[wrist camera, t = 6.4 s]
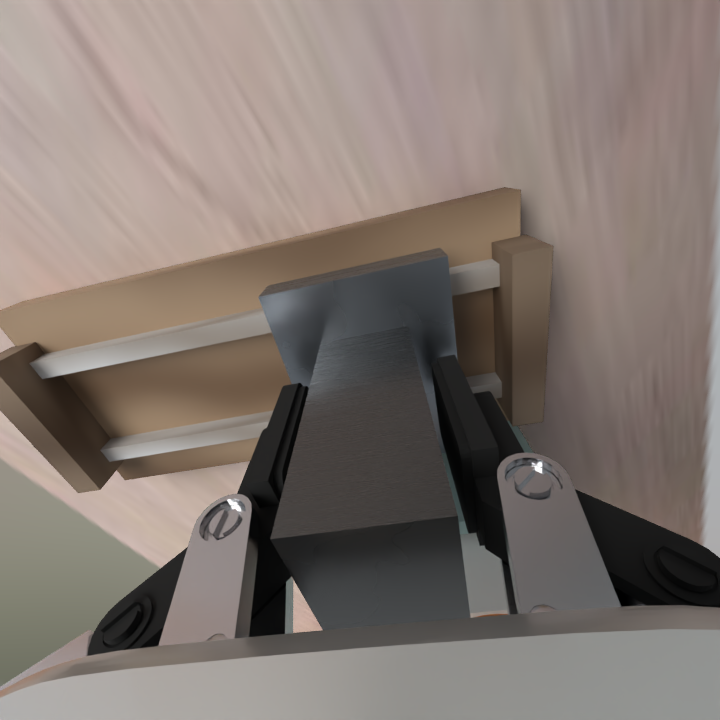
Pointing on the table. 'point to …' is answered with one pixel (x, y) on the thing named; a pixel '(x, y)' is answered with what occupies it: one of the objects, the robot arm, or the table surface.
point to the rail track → (253, 341)
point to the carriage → (369, 444)
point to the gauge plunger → (482, 579)
